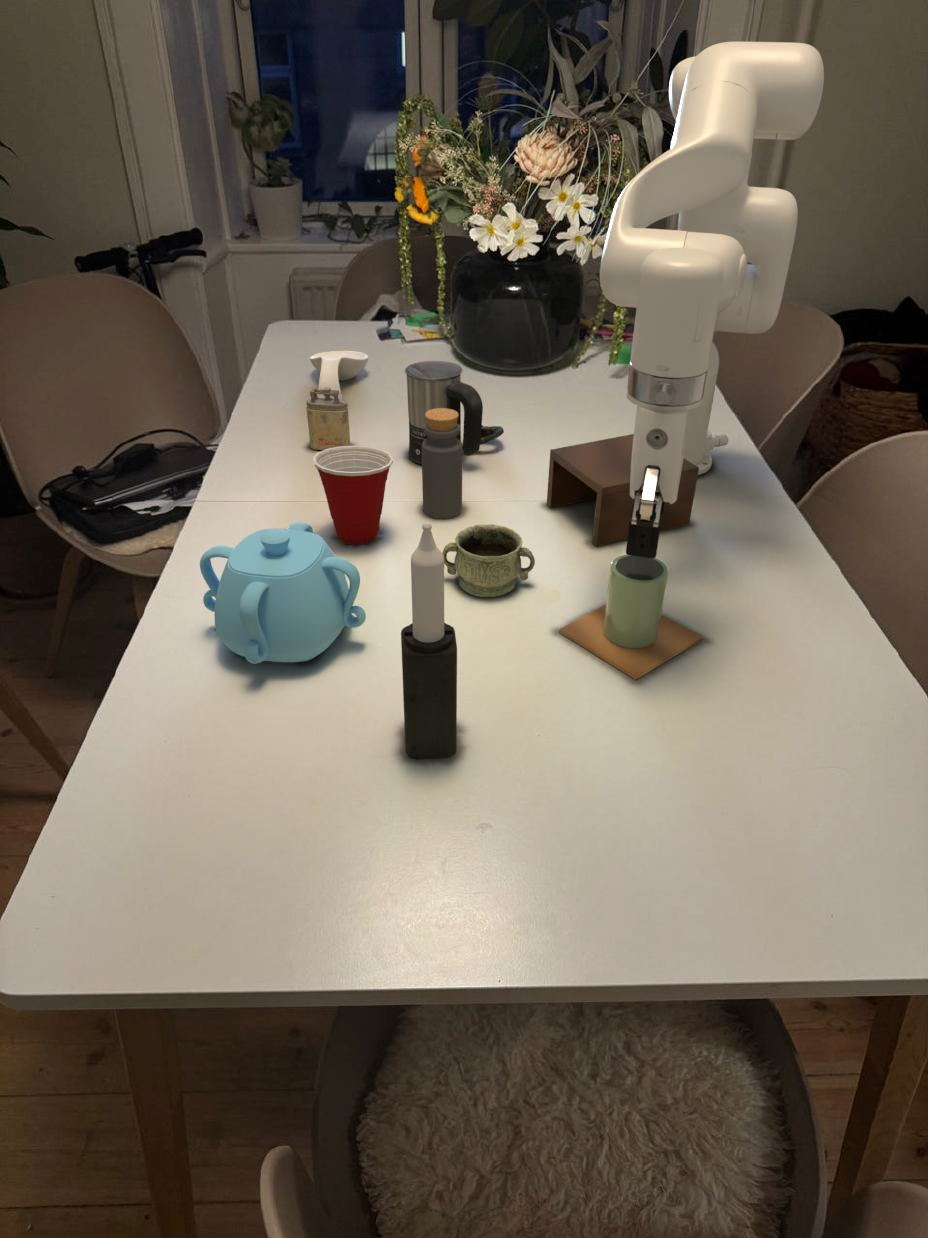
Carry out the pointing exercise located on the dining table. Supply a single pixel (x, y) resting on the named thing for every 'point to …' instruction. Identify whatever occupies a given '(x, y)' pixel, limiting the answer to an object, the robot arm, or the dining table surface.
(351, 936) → the dining table surface
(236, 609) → the decorative pot
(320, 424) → the lighter
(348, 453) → the plastic cup
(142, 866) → the dining table surface
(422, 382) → the milk frother
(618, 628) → the tumbler
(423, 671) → the candle
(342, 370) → the spoon rest
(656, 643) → the coaster
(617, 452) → the shelf
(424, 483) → the bottle
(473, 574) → the vessel
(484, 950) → the dining table surface
